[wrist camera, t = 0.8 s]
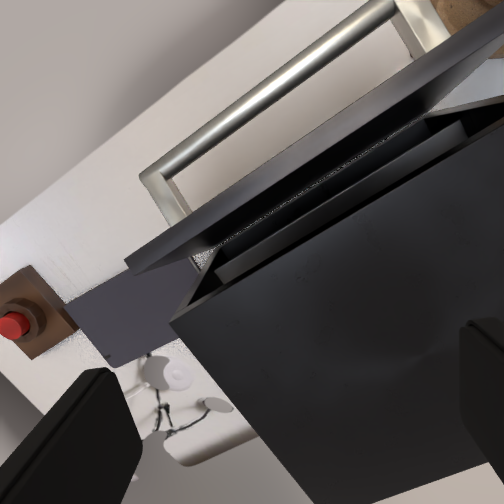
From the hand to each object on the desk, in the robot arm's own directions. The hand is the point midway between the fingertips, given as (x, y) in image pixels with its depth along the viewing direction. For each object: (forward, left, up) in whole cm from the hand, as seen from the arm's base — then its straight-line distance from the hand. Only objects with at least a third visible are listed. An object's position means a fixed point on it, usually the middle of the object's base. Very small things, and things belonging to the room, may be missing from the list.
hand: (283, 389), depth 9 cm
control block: (+25, -34, -35) cm, 55 cm away
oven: (+7, +13, -35) cm, 38 cm away
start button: (+25, -34, -31) cm, 52 cm away
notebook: (+20, -16, -35) cm, 44 cm away
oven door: (-5, +1, -36) cm, 36 cm away
